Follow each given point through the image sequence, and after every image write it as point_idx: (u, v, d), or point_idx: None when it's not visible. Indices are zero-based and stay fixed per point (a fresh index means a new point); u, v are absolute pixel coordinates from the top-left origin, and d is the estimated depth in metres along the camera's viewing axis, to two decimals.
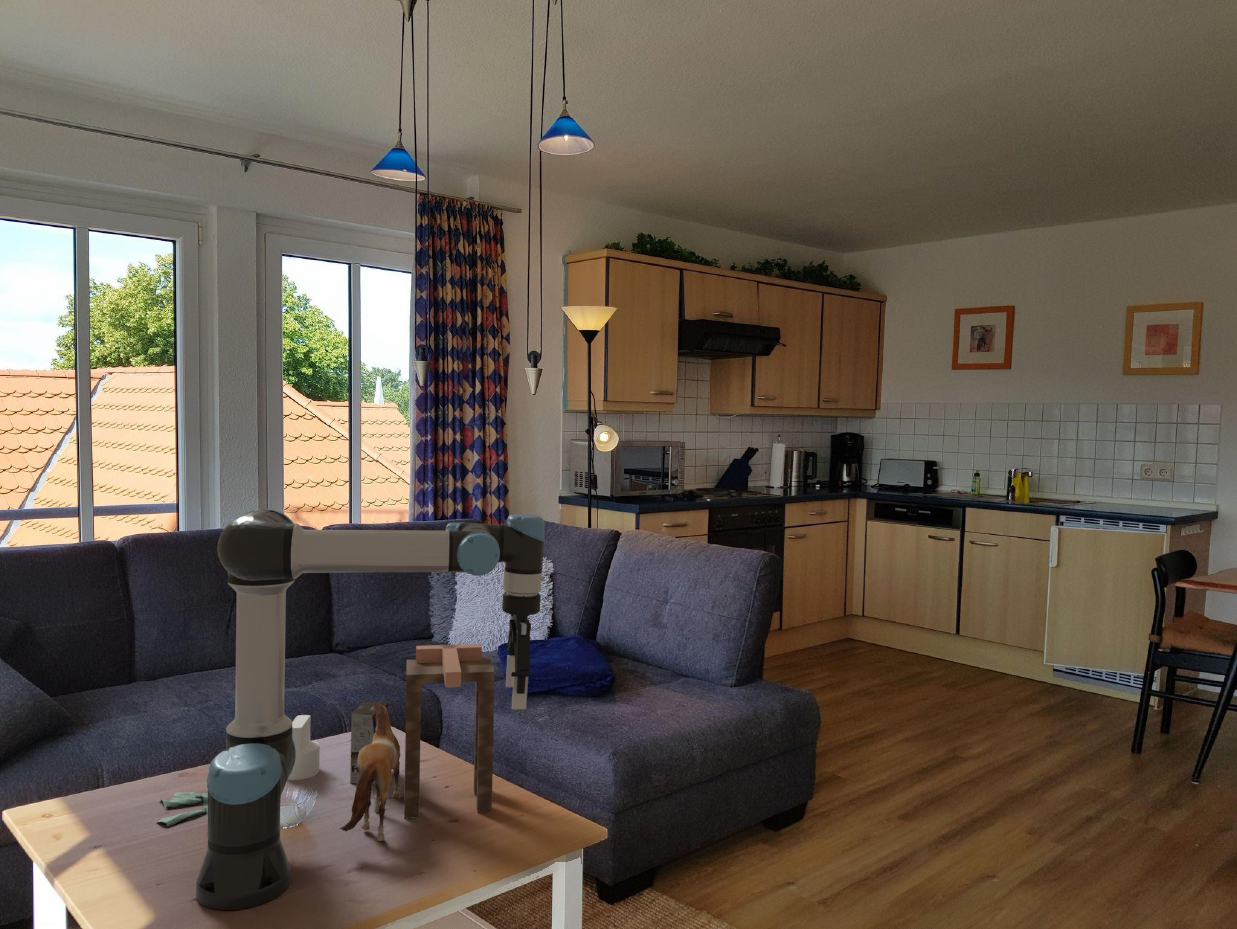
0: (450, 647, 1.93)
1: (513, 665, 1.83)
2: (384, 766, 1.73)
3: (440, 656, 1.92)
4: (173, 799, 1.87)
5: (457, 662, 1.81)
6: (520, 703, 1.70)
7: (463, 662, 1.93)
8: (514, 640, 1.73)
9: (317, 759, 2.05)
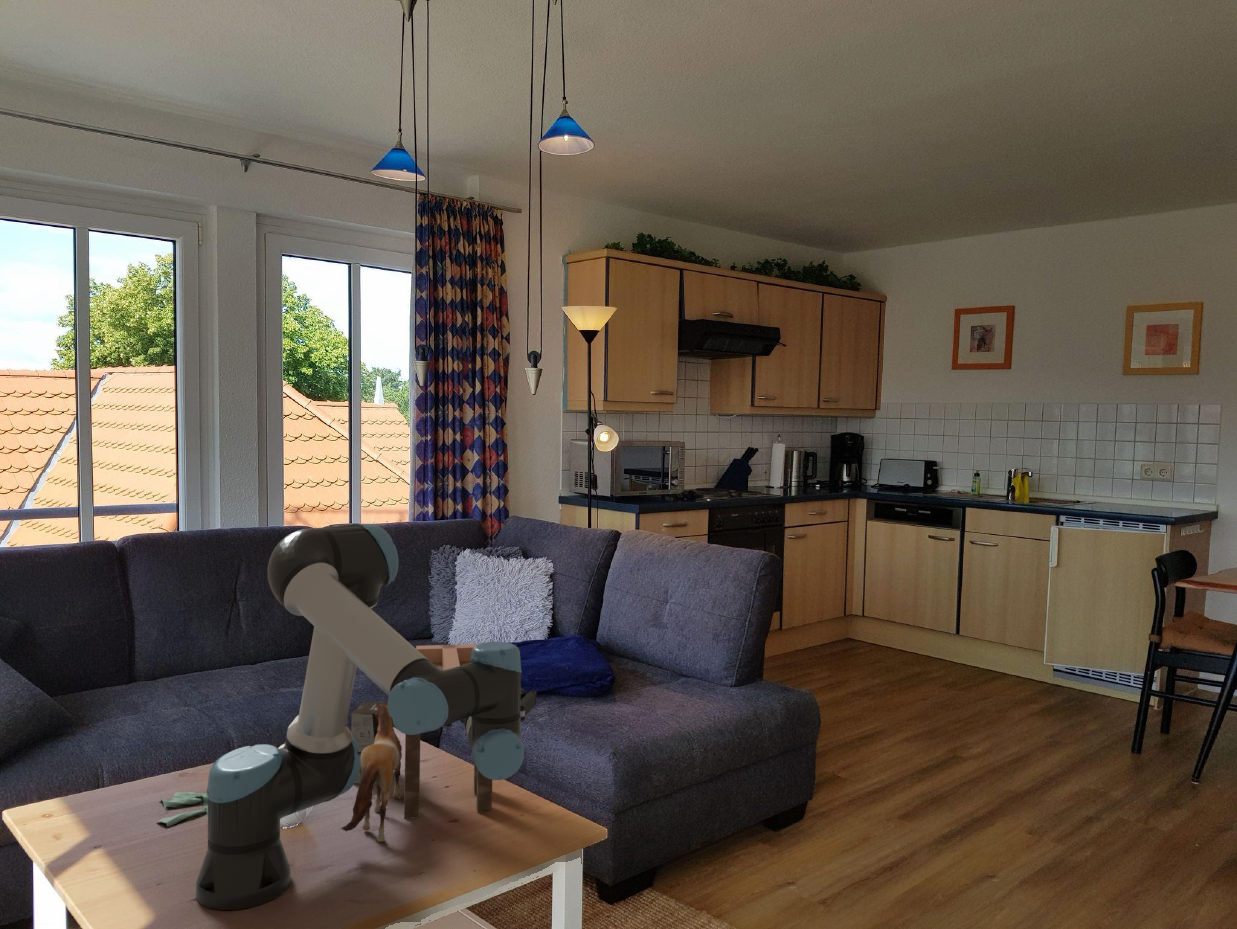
0: (450, 647, 1.93)
1: None
2: (386, 767, 1.73)
3: (440, 656, 1.92)
4: (173, 799, 1.87)
5: (457, 662, 1.81)
6: None
7: (463, 662, 1.93)
8: None
9: None
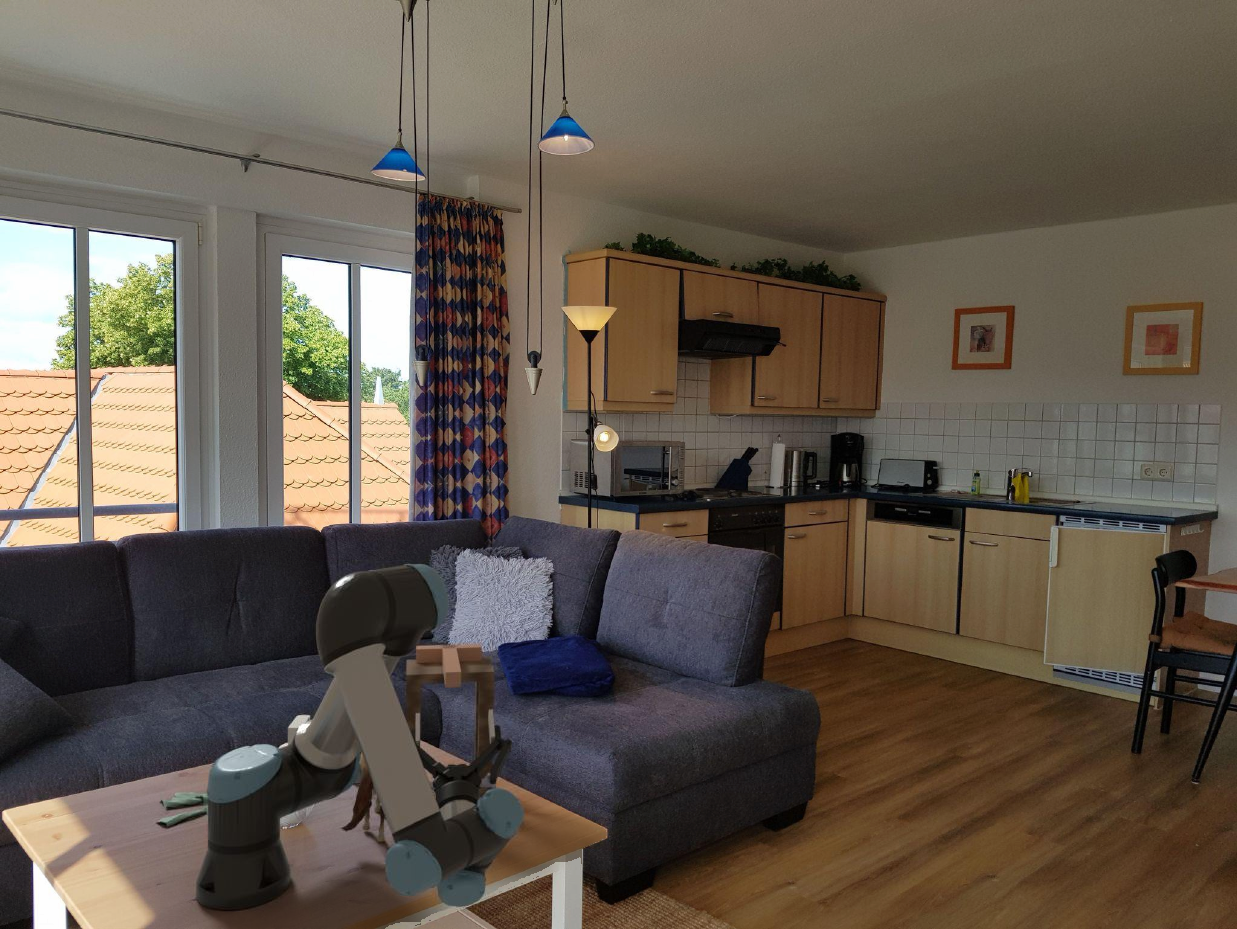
0: (450, 647, 1.93)
1: None
2: None
3: (440, 656, 1.92)
4: (173, 799, 1.87)
5: (457, 662, 1.81)
6: None
7: (463, 662, 1.93)
8: (434, 766, 1.57)
9: None
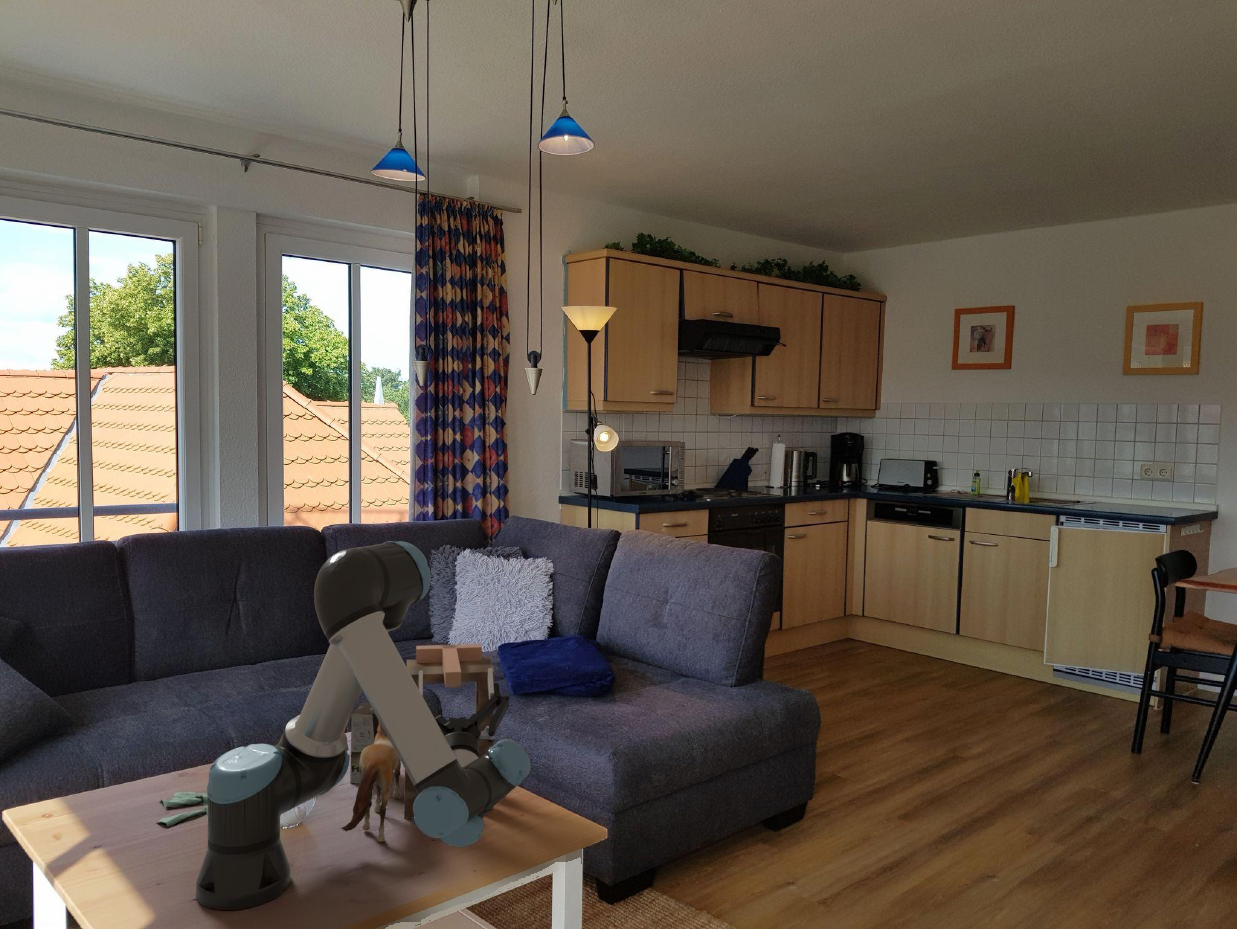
0: (450, 647, 1.93)
1: (489, 690, 1.75)
2: (386, 767, 1.73)
3: (440, 656, 1.92)
4: (173, 799, 1.87)
5: (457, 662, 1.81)
6: None
7: (463, 662, 1.93)
8: (435, 719, 1.65)
9: None
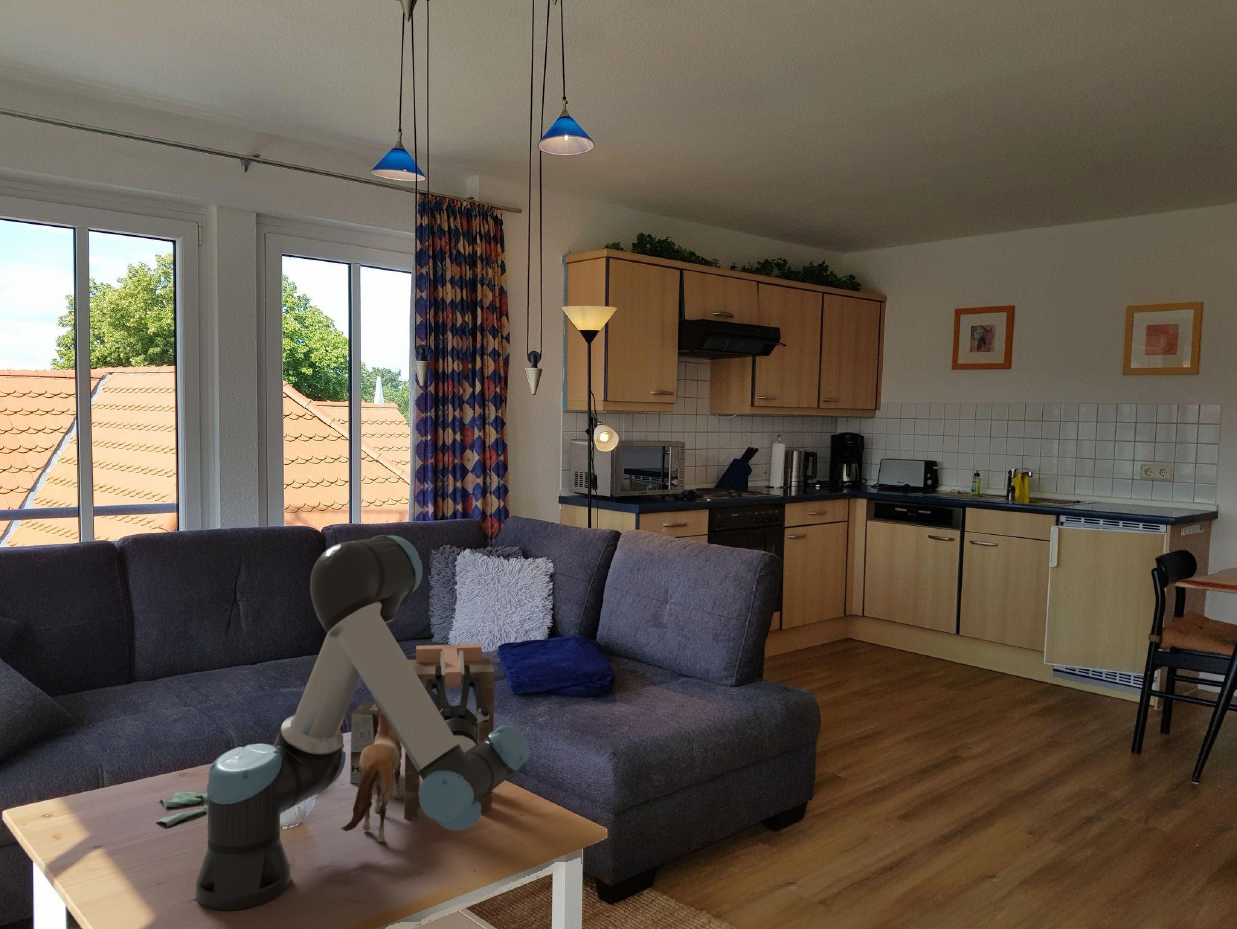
0: (450, 647, 1.93)
1: None
2: (386, 767, 1.73)
3: (440, 656, 1.92)
4: (173, 799, 1.87)
5: (457, 662, 1.81)
6: None
7: None
8: (441, 702, 1.69)
9: None
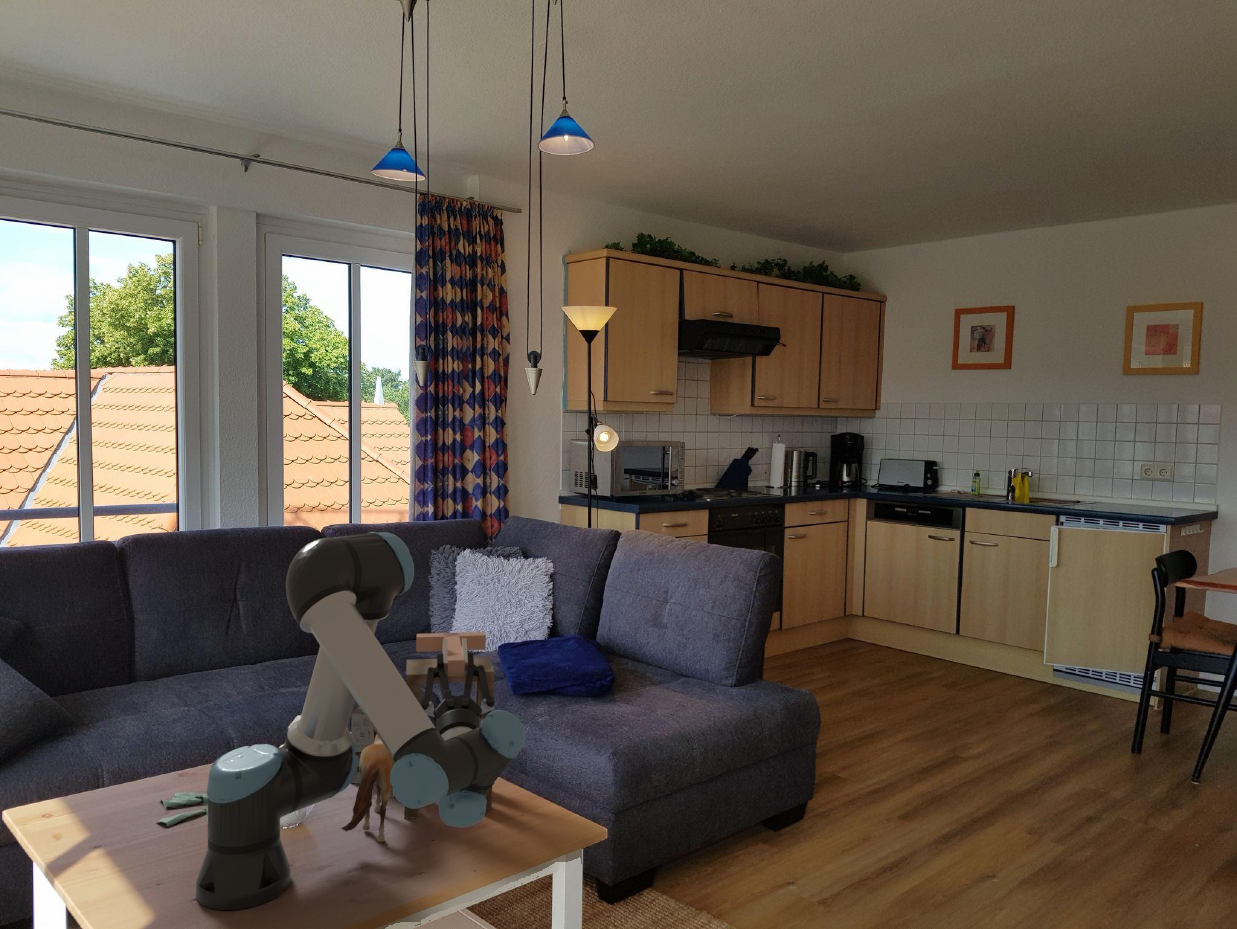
0: (452, 635, 1.83)
1: None
2: (386, 767, 1.73)
3: (442, 644, 1.82)
4: (173, 799, 1.87)
5: (460, 650, 1.71)
6: None
7: None
8: (443, 692, 1.59)
9: None
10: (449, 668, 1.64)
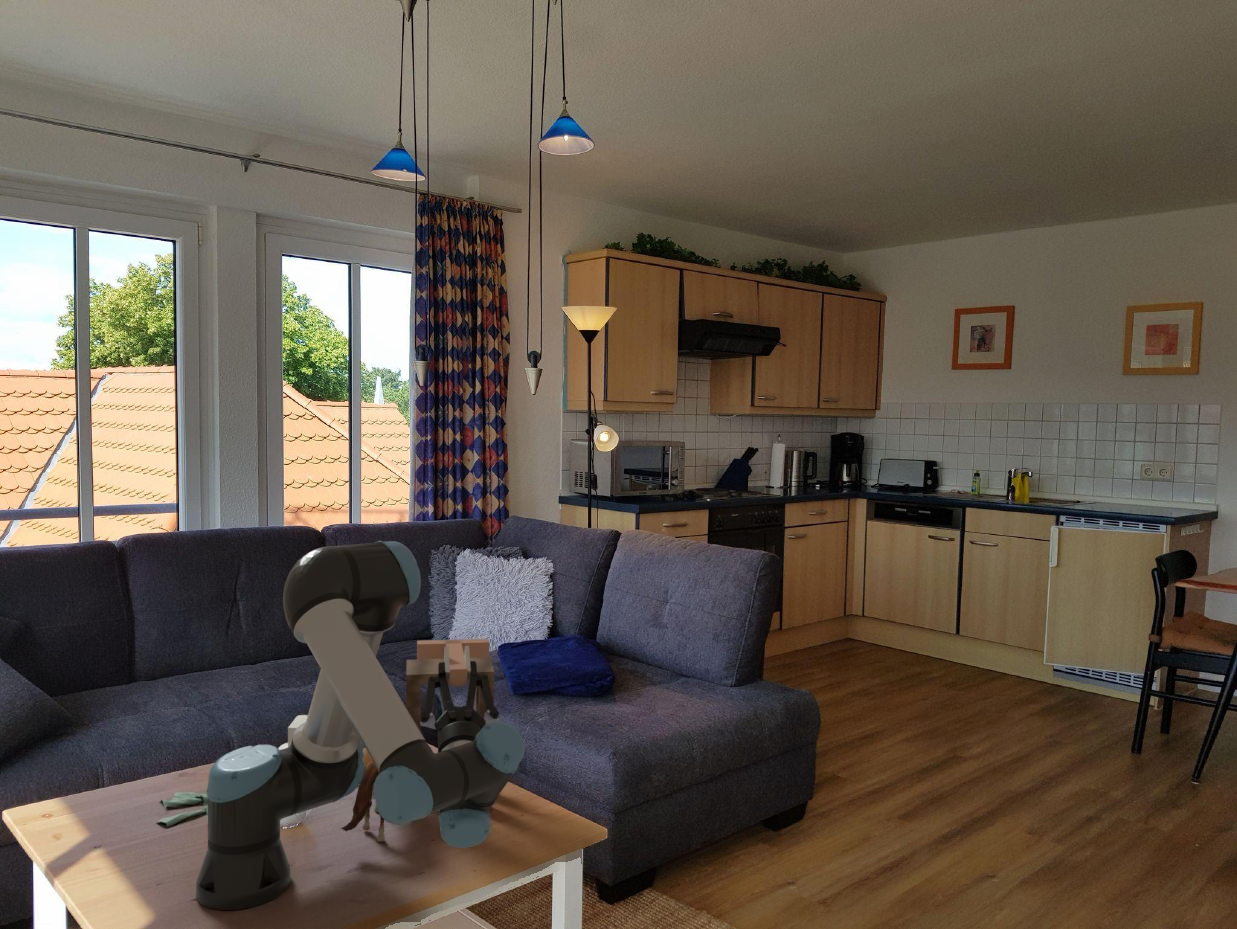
0: (454, 642, 1.75)
1: None
2: None
3: (443, 652, 1.75)
4: (173, 799, 1.87)
5: (462, 658, 1.64)
6: (444, 656, 1.63)
7: None
8: (445, 703, 1.51)
9: None
10: (451, 677, 1.56)
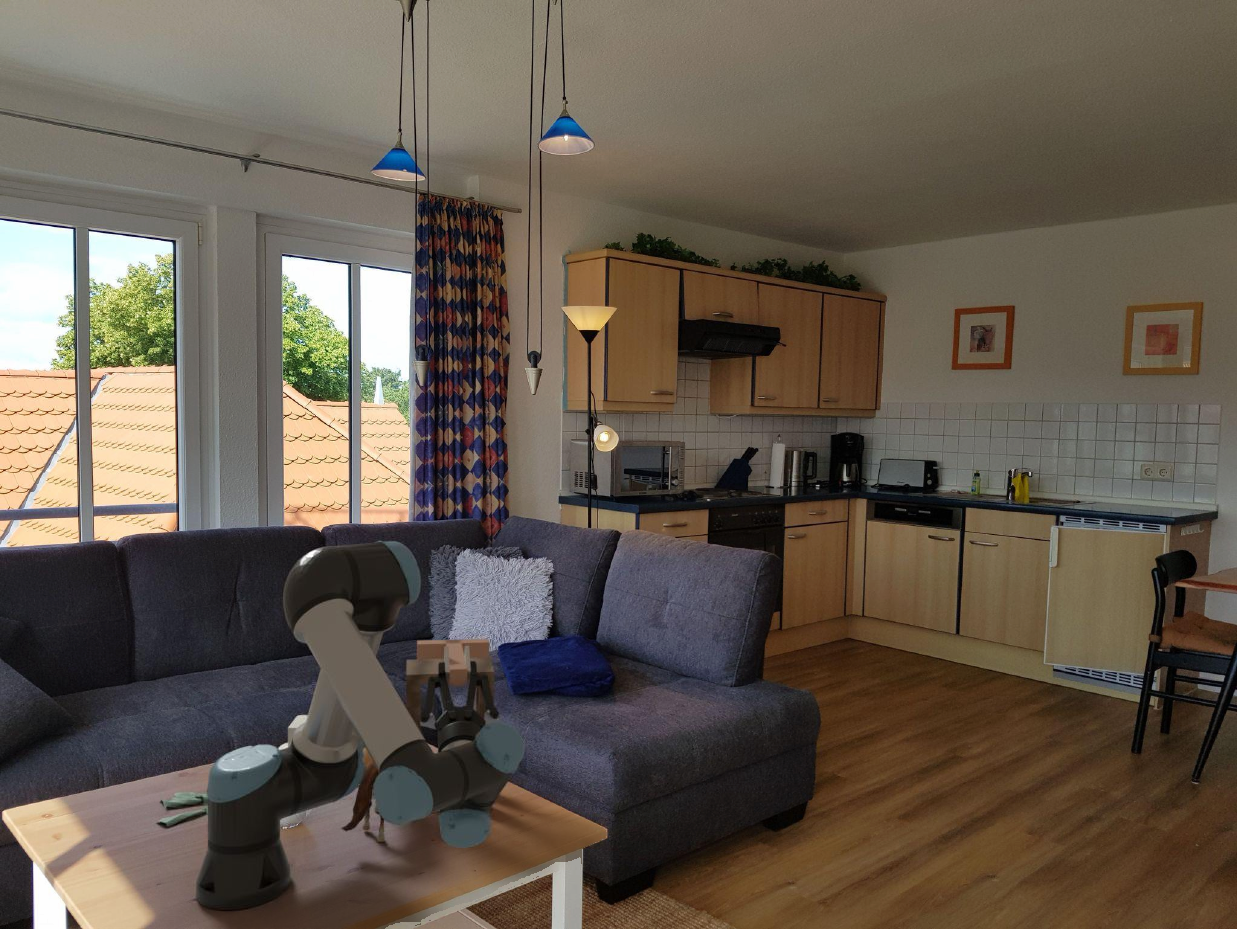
0: (454, 642, 1.75)
1: None
2: None
3: (443, 652, 1.75)
4: (173, 799, 1.87)
5: (462, 658, 1.64)
6: (444, 656, 1.63)
7: None
8: (445, 703, 1.51)
9: None
10: (451, 677, 1.56)
